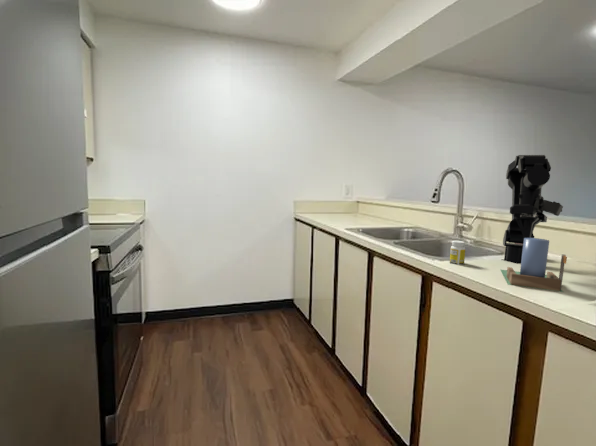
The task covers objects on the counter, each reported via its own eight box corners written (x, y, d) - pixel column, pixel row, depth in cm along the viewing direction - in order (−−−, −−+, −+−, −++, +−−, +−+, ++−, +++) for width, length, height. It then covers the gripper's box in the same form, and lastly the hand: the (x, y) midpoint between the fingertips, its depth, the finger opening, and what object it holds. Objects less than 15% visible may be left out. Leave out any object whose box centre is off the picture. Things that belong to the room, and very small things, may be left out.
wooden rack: (506, 276, 107) (510, 244, 106) (552, 282, 102) (556, 249, 101) (511, 286, 96) (515, 251, 95) (563, 293, 92) (568, 256, 90)
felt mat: (500, 271, 116) (500, 269, 115) (546, 276, 110) (546, 274, 110) (507, 286, 98) (507, 284, 98) (563, 294, 93) (563, 291, 93)
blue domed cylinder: (514, 281, 102) (519, 238, 100) (528, 279, 104) (533, 237, 102) (534, 287, 96) (539, 241, 94) (548, 285, 98) (554, 241, 96)
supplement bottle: (462, 263, 125) (464, 240, 124) (465, 266, 120) (467, 243, 119) (448, 262, 126) (450, 239, 125) (450, 265, 121) (452, 242, 120)
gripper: (554, 184, 100) (551, 238, 98) (567, 197, 112) (564, 245, 111) (511, 186, 108) (507, 236, 107) (527, 198, 120) (524, 242, 119)
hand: (527, 240), depth 111 cm, fingers closed
